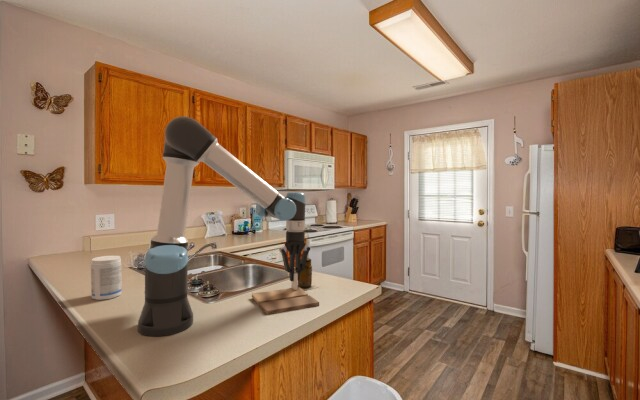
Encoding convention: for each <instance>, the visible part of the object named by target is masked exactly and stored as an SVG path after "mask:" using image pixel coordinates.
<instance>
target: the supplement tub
mask: <svg viewBox="0 0 640 400" xmlns="http://www.w3.org/2000/svg"><path fill="white" fill-rule="evenodd" d="M121 258H122V257H121V256H120V255H102V256H97V257H94V258H92V259H91V260H90V283H91V284H90V286H91V298H92V299H93V300H97V301H104V300H110V299H113V298H116V297H118V296H120V295H122V293H123V291H122V290H123V289H122V288H123V285H122V284H123V283H122V281H123V280H122V279H123V278H122V259H121Z"/></svg>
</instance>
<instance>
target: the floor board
mask: <svg viewBox="0 0 640 400" xmlns="http://www.w3.org/2000/svg"><path fill="white" fill-rule="evenodd" d="M318 306H320V301H319V300H317V299H316V298H314V297H313V296H311V295H309V294H308V296H302V297H296V298H289V299H283V300H277V301H270V302H264V303H259V305H258V307H259V308H260V309H261V310H262V311H263V312H264V313H265V314H266V315H273V314H277V313H284V312H289V311H294V310H295V311H296V310H300V309H305V308H306V309H307V308H312V307H313V308H314V307H318Z"/></svg>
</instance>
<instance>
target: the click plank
mask: <svg viewBox="0 0 640 400" xmlns="http://www.w3.org/2000/svg"><path fill="white" fill-rule="evenodd" d="M302 296H309V294H308V293H307V291H306V290H303V289H301V288H300V287H298V288H297V289H296V290H294V289H292V288H291V287H289V288H282V289H277V290H276V289H275V290H269V291H260V292H255V293H254V292H253V293H251V297H252V299H253V300H254V301H255V303H256V305H258V306H259V303H264V302H270V301H277V300H283V299H289V298H296V297H302Z"/></svg>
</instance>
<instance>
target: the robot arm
mask: <svg viewBox="0 0 640 400" xmlns="http://www.w3.org/2000/svg"><path fill="white" fill-rule="evenodd" d="M162 159H163V160H164V162H165V163H166V166H165V173H164V179H163V187H162V196H161V202H160V210H159V218H158V225H157V232H156V234H155V235H154V236H152V237H151V238H150V245H149V249H148V250H147V251H146V252H145V255H144V259H143V262H144V263H143V265H144V304H143V307H142V310H141V312H140V316H139V318H138V321H137V332H138V333H139V334H141V335H142V336H143V335H144V336H148V337H161V336H162V337H164V336H168V335H169V336H170V335H174V334H178V333H180V332H183V331H185V330H187V329H188V328H189V327H191V326H192V325H193V324H194V313H193V310H192V306H191V304H190V301H189V298H188V280H189V279H188V277H189V276H188V274H189V273H188V263H189V256H188V247H189V240H188V238H187V237H186V236H185V234H186V228H187V222H188V221H187V219H188V212H189V205H190V197H191V190H192V183H193V175H194V169H195V168H196V166H198V165H199V164H200V162H202V163H203V164H206V166H208V167H209V168H211V169H212V170H213V171H215V173H217V174H218V175H220V176H221V177H222V178H224V179H225V180H226V181H228V182H229V183H230V184H231V185H233V186H234V187H235V188H236V189H238V190H239V191H240V192H242V193H243V194H245V196H247V197H248V198H250V200H252V201H254V202H255V211H256V215H257V216H258V217H264V218H266V217H269V218H270V217H271V218H274V219H277V220H279V221H286V224H285V229H286V231H285V243H284V246H283V247H281V248H279V252H280V254H281V257H282V262H283V266H284V270H285V272H287V273H289V281H290V282H291V287H290V288H292V289H294V290H296V289H297V288H298V280H299V279H300V273H301V271H304V268H305V264H306V260H307V258H308V255H309V252H310V251H311V247H310V246H307V245H306V242H305V239H306V237H305V236H306V235H305V233H306V232H305V230H306V229H305V227H306V226H305V225H306V206H307V205H306V194H305V193H303V192H296V191H294V192H289V191H288V192H286V196H284V195H283V194H282V193H280V192H278V191H277V189H275V188H274V187H273V186H271V185H270V184H269V183H268V182H267V181H265V180H264V179H263V178H261V176H259V175H258V174H257V173H256V172H254V171H253V170H252V169H250V168H249V167H248V166H247V165H245V164H244V163H243V162H242V161H241V160H239V159H238V158H237V157H235V155H233V154H232V153H231V152H230V151H228V150H227V149H226V148H224V146H222V145H221V144H220V143H219V142H218V138H217V137H216V136H215V135H213V134H212V133H211V131H209V130H208V129H207V128H206V127H204V125H202V124H201V123H200V122H199V121H197V120H196V119H194V118H192V117H189V116H184V115H183V116H178V117H174V118H173V119H171V120H170V121H169V122H168V124H167V125H166V126H165V129H164V144H163V152H162ZM287 251H288V254H287ZM288 255H289V259H288ZM300 258H301V262H300Z"/></svg>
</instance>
